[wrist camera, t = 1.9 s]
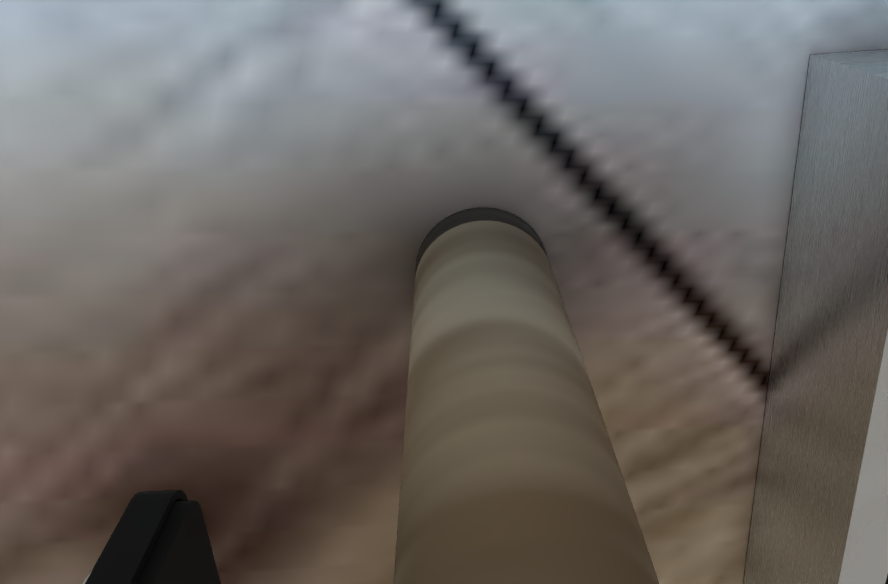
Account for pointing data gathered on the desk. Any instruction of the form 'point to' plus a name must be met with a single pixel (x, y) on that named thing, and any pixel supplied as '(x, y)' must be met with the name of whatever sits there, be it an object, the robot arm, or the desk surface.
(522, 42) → the desk surface
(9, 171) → the desk surface
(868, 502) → the breaker box
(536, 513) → the beige cylinder
